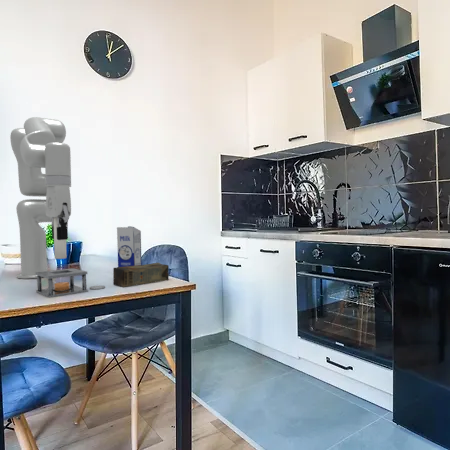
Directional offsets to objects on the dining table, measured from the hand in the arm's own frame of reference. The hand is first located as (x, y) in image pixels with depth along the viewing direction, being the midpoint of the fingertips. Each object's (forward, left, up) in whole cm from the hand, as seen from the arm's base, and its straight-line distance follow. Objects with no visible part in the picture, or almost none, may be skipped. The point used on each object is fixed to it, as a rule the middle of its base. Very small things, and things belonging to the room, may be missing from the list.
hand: (59, 238), depth 122 cm
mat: (+4, +10, -17) cm, 20 cm away
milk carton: (-9, +30, -17) cm, 36 cm away
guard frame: (+1, 0, -17) cm, 17 cm away
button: (+1, 0, -16) cm, 16 cm away
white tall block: (0, 0, -6) cm, 6 cm away
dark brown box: (+5, +26, -18) cm, 32 cm away
